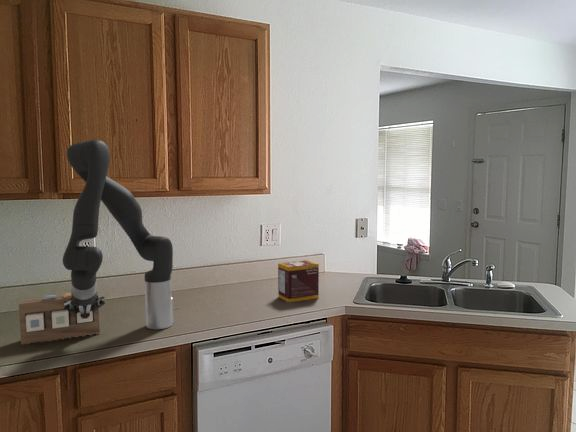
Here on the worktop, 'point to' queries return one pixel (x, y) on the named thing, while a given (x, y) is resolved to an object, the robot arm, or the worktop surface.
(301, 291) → the supplement box
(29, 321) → the slate key
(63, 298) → the keypad panel
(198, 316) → the worktop surface
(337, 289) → the worktop surface
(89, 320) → the terracotta key
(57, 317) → the sage key
